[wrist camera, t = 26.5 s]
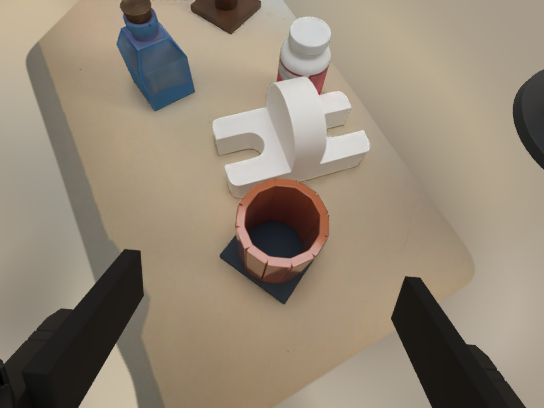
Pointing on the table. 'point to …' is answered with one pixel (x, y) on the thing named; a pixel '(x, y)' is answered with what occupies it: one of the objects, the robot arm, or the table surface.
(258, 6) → the stand
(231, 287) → the table surface
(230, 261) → the mat
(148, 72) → the perfume bottle
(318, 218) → the orange hollow cylinder
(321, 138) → the white slotted bracket
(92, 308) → the robot arm
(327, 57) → the pill bottle
